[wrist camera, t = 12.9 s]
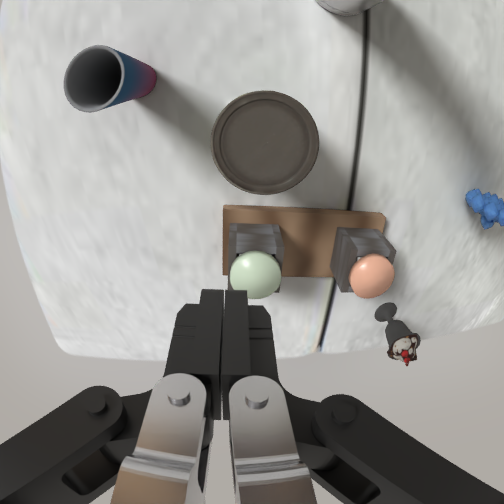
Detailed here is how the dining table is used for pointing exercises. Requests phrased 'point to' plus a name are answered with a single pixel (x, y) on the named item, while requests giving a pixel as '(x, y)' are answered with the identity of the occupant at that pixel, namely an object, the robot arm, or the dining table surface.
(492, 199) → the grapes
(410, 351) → the sundae
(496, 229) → the dining table surface
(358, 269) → the button
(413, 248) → the dining table surface
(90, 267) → the dining table surface
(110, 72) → the cup
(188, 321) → the robot arm
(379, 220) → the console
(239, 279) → the button
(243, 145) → the coffee can
